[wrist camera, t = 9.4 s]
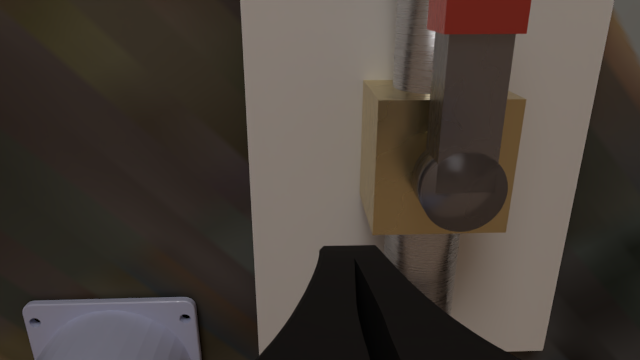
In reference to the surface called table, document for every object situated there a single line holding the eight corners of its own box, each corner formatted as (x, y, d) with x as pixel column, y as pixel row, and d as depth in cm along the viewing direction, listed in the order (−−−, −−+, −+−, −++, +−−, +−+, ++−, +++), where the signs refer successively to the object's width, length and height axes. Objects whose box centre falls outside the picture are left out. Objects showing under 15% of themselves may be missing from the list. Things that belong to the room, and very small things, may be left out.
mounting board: (531, 334, 26) (542, 350, 24) (261, 342, 25) (259, 359, 24) (628, -170, 18) (651, -181, 16) (234, -176, 17) (230, -188, 16)
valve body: (452, 314, 24) (486, 383, 20) (354, 316, 24) (366, 387, 19) (503, -111, 17) (568, -143, 13) (368, -113, 17) (391, -146, 13)
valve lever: (483, 209, 17) (504, 233, 15) (407, 211, 17) (420, 235, 15) (529, -145, 13) (563, -165, 11) (432, -146, 13) (452, -166, 11)
